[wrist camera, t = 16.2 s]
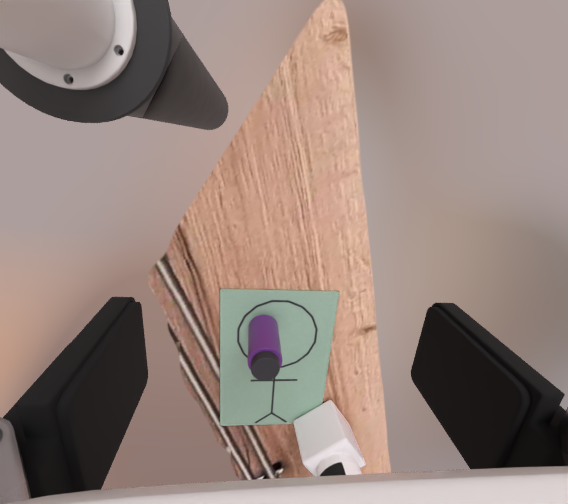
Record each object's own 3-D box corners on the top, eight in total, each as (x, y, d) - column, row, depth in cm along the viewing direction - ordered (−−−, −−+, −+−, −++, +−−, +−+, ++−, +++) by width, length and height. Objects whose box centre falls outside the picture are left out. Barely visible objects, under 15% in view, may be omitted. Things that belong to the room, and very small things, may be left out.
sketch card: (220, 288, 40) (220, 290, 40) (338, 290, 42) (339, 292, 41) (220, 423, 48) (220, 426, 48) (319, 421, 50) (319, 423, 50)
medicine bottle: (312, 444, 51) (336, 528, 40) (292, 420, 48) (311, 504, 37) (349, 422, 51) (382, 502, 40) (330, 397, 48) (361, 475, 37)
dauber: (243, 328, 42) (240, 375, 34) (258, 306, 41) (260, 349, 33) (267, 340, 43) (270, 388, 35) (283, 319, 42) (290, 364, 34)
